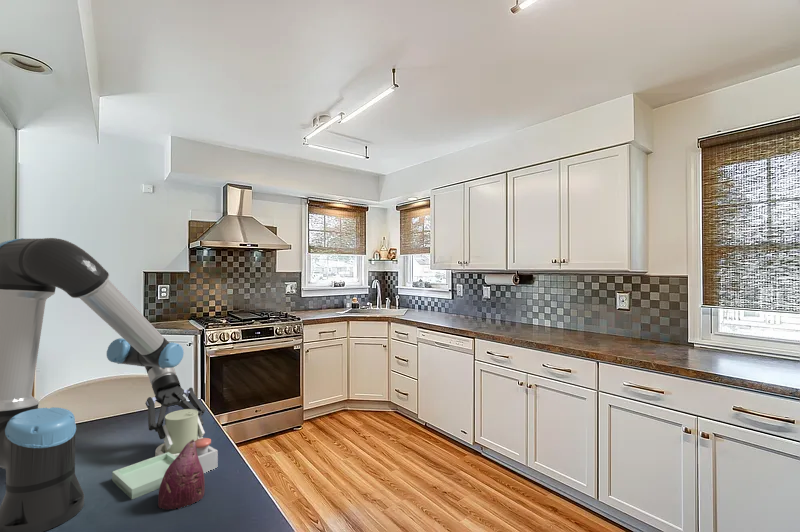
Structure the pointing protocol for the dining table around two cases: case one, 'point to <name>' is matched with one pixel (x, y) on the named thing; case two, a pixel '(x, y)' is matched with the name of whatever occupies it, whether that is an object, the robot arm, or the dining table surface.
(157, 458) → the tray
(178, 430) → the can
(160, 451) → the socket ring
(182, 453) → the vegetable
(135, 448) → the dining table surface
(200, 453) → the button
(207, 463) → the button post
